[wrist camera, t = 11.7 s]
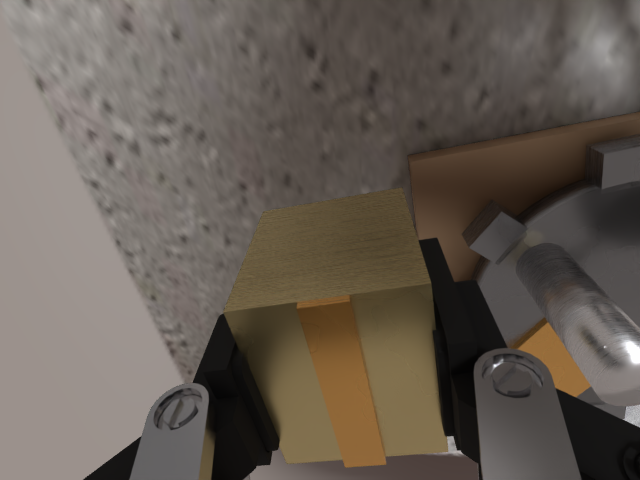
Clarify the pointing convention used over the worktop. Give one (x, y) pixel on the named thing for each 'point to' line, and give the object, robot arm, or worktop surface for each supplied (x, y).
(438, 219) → the sprocket base
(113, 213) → the worktop surface
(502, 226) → the sprocket
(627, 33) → the worktop surface
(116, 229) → the worktop surface
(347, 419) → the tan block with orange
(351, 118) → the worktop surface
